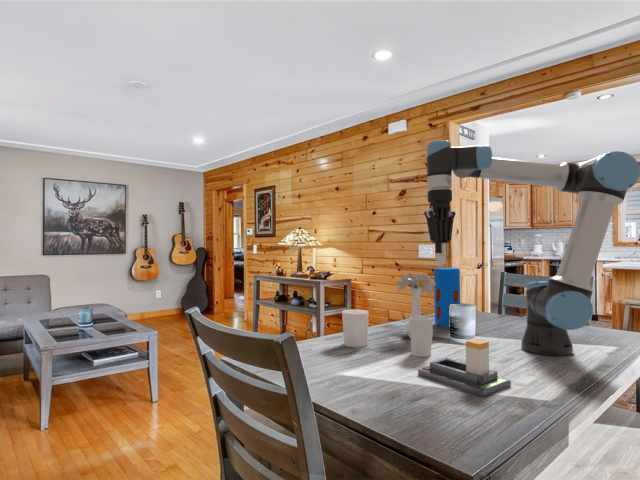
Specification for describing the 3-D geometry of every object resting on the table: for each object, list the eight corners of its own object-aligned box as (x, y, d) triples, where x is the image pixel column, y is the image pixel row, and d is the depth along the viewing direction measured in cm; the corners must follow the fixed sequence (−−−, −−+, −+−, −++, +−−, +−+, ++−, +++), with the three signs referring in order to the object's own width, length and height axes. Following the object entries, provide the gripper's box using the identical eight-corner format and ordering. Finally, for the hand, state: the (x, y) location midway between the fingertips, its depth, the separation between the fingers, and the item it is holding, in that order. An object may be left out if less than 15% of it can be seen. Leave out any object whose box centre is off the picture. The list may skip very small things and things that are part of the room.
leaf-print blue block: (447, 329, 170) (446, 269, 170) (429, 324, 180) (428, 268, 180) (466, 326, 175) (465, 268, 175) (447, 321, 185) (446, 267, 185)
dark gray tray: (418, 374, 112) (418, 362, 112) (445, 366, 119) (445, 354, 119) (483, 396, 96) (483, 382, 96) (510, 385, 103) (510, 372, 103)
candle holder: (338, 346, 144) (338, 313, 144) (347, 340, 153) (346, 308, 153) (365, 349, 140) (364, 314, 140) (372, 342, 149) (371, 310, 149)
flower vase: (440, 333, 162) (439, 271, 162) (424, 343, 146) (423, 274, 146) (409, 330, 169) (408, 270, 169) (390, 339, 154) (390, 273, 154)
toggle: (466, 377, 105) (465, 341, 105) (475, 374, 107) (474, 338, 107) (480, 381, 101) (479, 344, 101) (489, 378, 104) (488, 341, 104)
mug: (423, 358, 128) (423, 320, 128) (406, 354, 133) (405, 318, 133) (441, 352, 134) (440, 316, 134) (424, 349, 139) (423, 314, 139)
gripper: (435, 187, 123) (437, 264, 122) (462, 189, 130) (463, 262, 130) (416, 190, 129) (418, 264, 129) (442, 192, 136) (444, 262, 136)
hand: (441, 263), depth 129 cm, fingers closed
